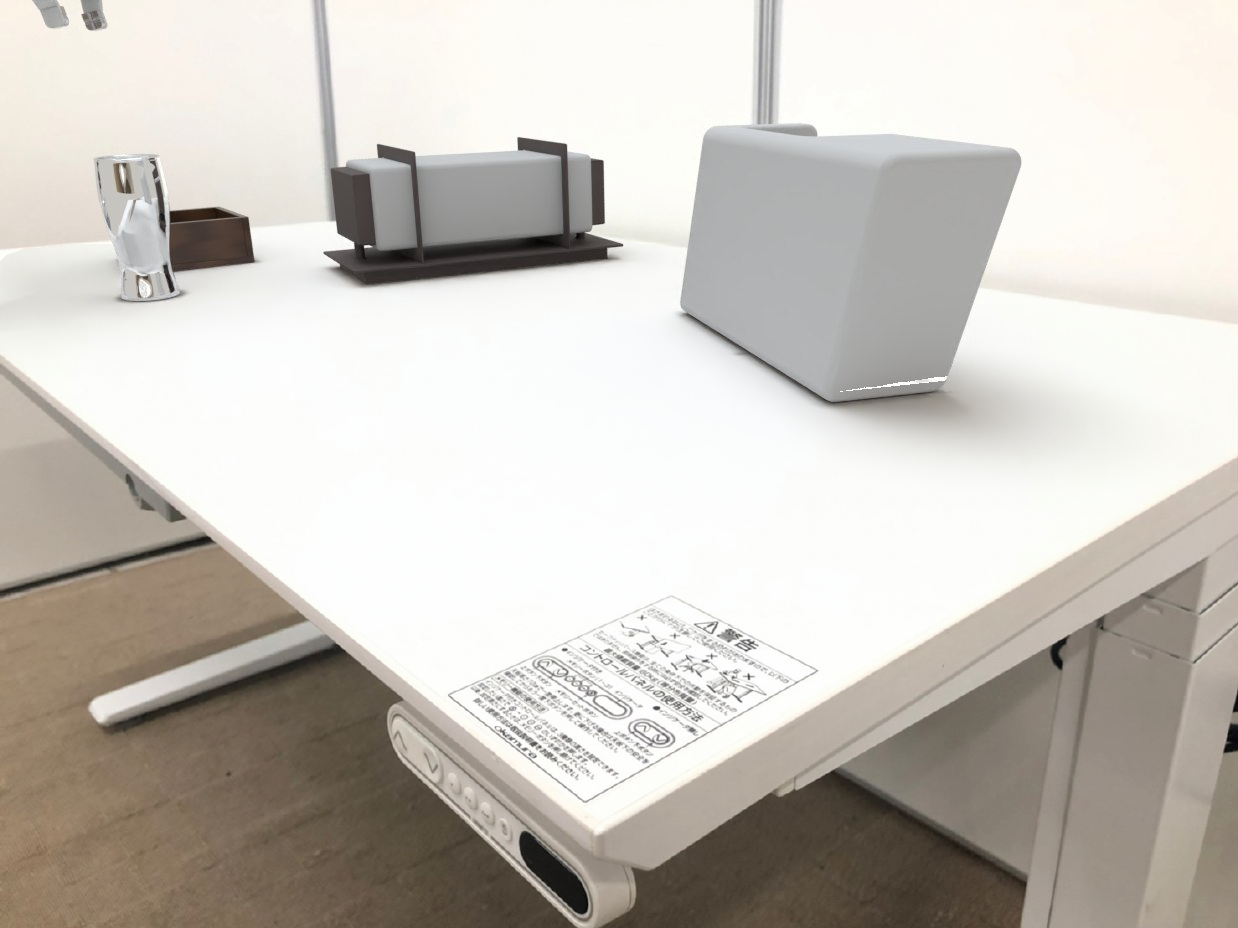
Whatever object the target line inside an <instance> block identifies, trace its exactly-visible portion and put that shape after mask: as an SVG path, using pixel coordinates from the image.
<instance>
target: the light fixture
mask: <svg viewBox="0 0 1238 928" xmlns="http://www.w3.org/2000/svg"><path fill="white" fill-rule="evenodd" d="M516 139H517V150H504V151H503V150H502V151H501V150H500V151H485V152H484V151H483V152H467V153H466V152H465V153H449V154H431V155H430V154H427V155H416V152H415V151H413V150H409V149H404V148H400V147H395V146H390V145H385V144H381V143H377V144H376V152H377V157H375V158H374V157H373V158H358V159H348V160H347V161H346V162H345V166H338V167H331V168H330V178H331V187H332V196H333V197H332V198H333V206H334V215H335V216H334V217H335V224H336V233H337V234H338V235H340V236H341V237H343V238H345V239H347V240H349V241H350V242H351V243H353V248H347V249H339V250H338V249H336V250H325V251H323V252H322V253H323V255H324V256H326V257H327V258H328V259H331V260H332V261H334V262H336V263H337V264H339V269H341V270H343V271H344V272H346V273H347V274H349V275H350V276H351V277H354V278H355V279H357V280H358V281H360V282H361V283H363V284H365V285H372V284H373V285H374V284H382V283H383V284H384V283H392V282H400V281H411V280H419V279H420V280H421V279H428V278H429V279H430V278H438V277H447V276H457V275H458V276H459V275H466V274H477V273H485V272H495V271H496V272H497V271H504V270H505V271H507V270H515V269H525V268H534V267H542V266H543V267H544V266H552V265H561V264H562V265H563V264H573V263H581V262H591V261H600V260H608V249H613V248H622V247H624V243H622V242H618V241H614V240H611V239H608V238H604V237H601V236H597V235H595V234H591V233H590V232H591V231H592V230H593V226H599V225H604V224H606V209H605V208H606V206H605V203H606V202H605V161H604V160H603V159H599V158H592V157H591V156H590V155H589V154H587V153H580V152H574V151H568V143H565V142H557V141H552V140H551V141H549V140H543V139H536V138H528V137H521V136H517V138H516ZM365 246H370V247H365Z"/></svg>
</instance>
